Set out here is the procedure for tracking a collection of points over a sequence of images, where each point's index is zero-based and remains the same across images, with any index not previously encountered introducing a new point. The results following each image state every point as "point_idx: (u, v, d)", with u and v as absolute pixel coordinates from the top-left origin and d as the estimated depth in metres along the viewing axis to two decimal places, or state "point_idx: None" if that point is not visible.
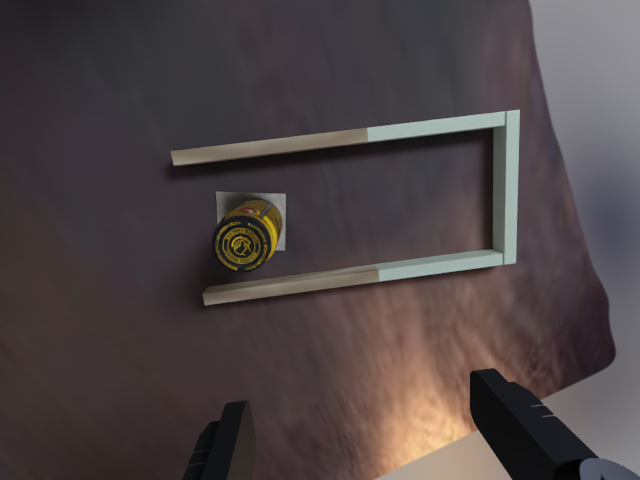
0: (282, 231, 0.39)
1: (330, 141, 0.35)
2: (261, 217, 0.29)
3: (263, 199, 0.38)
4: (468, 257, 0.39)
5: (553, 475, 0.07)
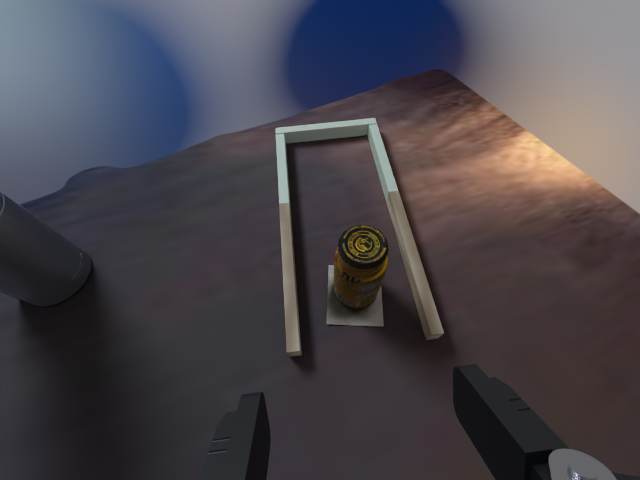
0: None
1: (286, 225, 0.45)
2: None
3: (333, 283, 0.42)
4: (373, 141, 0.54)
5: (525, 465, 0.08)
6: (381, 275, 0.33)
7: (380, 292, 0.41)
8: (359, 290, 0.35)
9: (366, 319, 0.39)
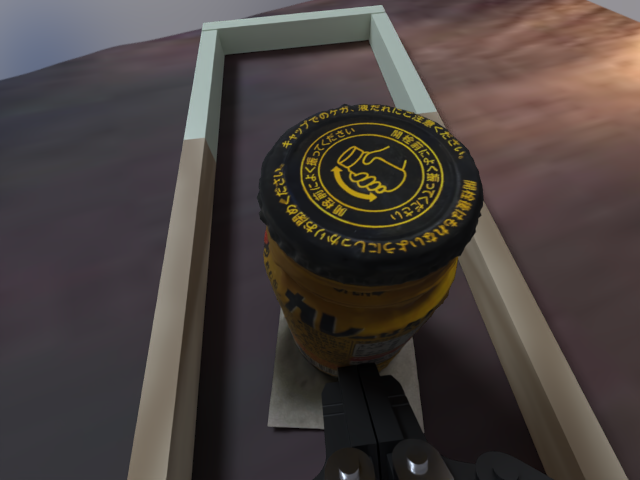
0: None
1: (191, 182, 0.20)
2: None
3: None
4: (380, 38, 0.29)
5: (380, 454, 0.08)
6: (439, 303, 0.09)
7: None
8: (355, 354, 0.10)
9: None
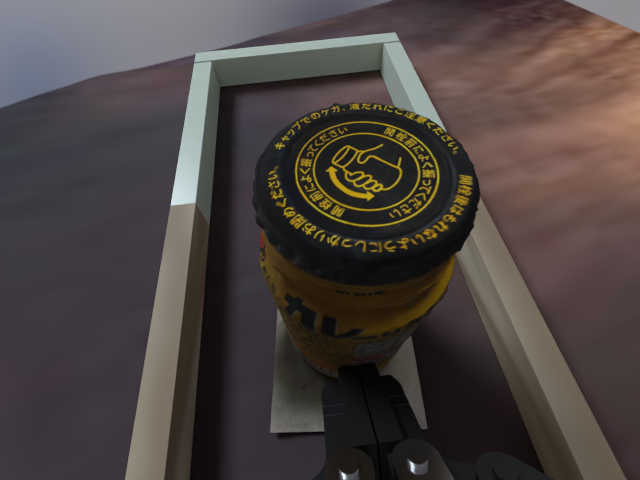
0: None
1: (178, 265, 0.16)
2: None
3: None
4: (395, 73, 0.26)
5: (380, 454, 0.08)
6: (438, 299, 0.09)
7: None
8: (357, 354, 0.10)
9: None
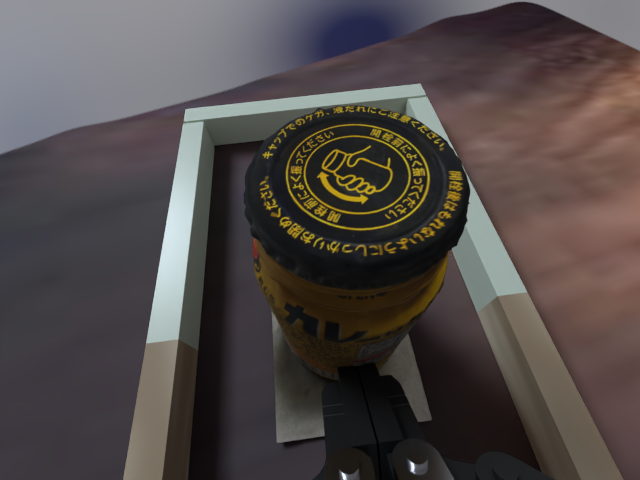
0: None
1: (151, 448, 0.12)
2: None
3: None
4: None
5: (380, 454, 0.08)
6: None
7: None
8: (360, 356, 0.10)
9: None
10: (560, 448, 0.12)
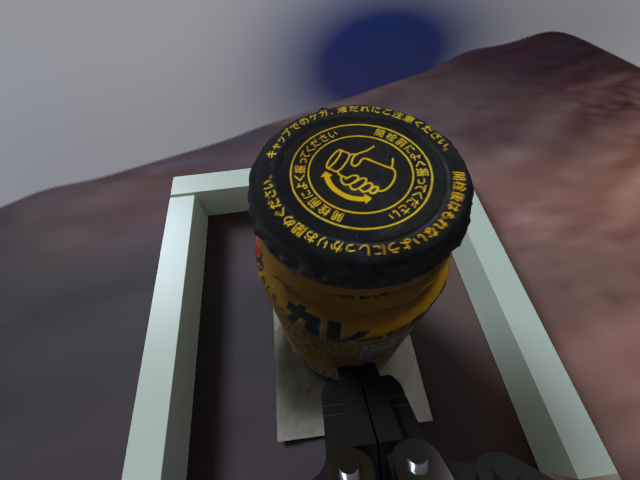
0: None
1: None
2: None
3: None
4: None
5: (380, 454, 0.08)
6: (438, 294, 0.09)
7: None
8: (361, 355, 0.10)
9: None
10: None
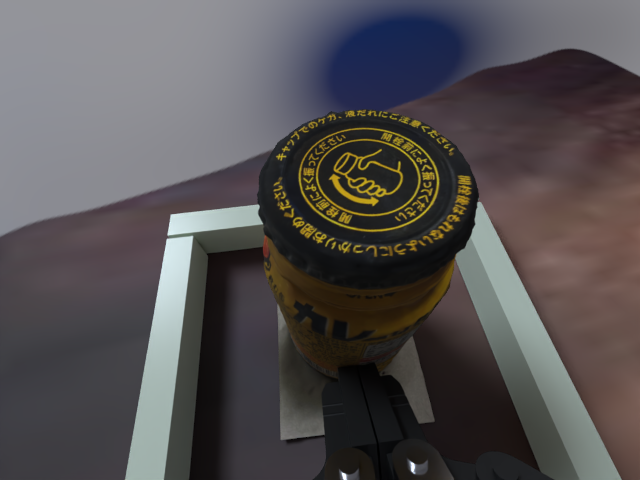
0: None
1: None
2: None
3: None
4: (482, 271, 0.16)
5: (380, 454, 0.08)
6: (442, 295, 0.09)
7: None
8: (365, 355, 0.10)
9: None
10: None
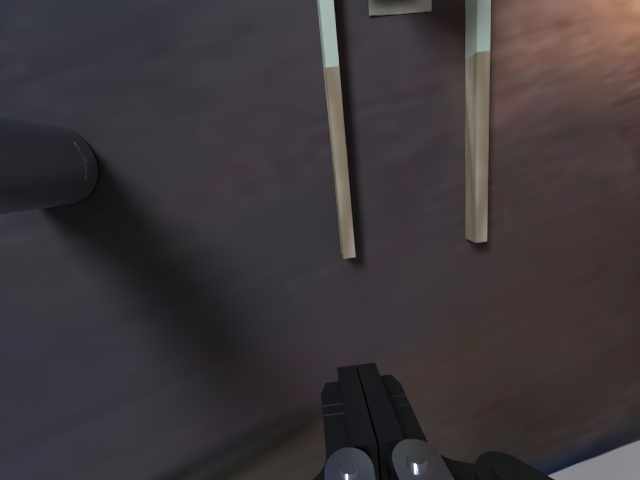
0: None
1: (337, 107, 0.35)
2: None
3: None
4: None
5: (380, 454, 0.08)
6: None
7: None
8: None
9: (413, 3, 0.35)
10: (474, 112, 0.36)
